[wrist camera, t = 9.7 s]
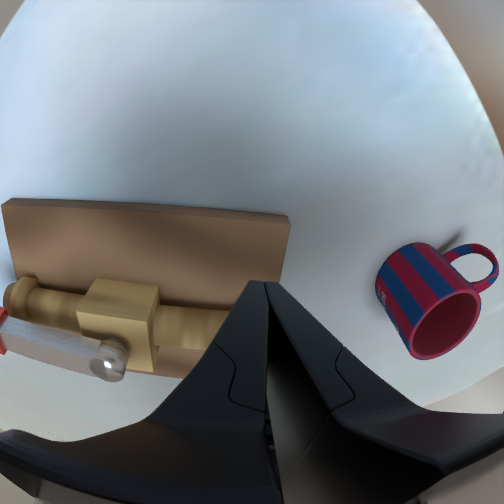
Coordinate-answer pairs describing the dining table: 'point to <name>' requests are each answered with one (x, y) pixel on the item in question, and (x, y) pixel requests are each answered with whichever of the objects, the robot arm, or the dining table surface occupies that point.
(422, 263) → the mug
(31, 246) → the valve board
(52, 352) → the lever
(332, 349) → the robot arm
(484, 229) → the dining table surface
